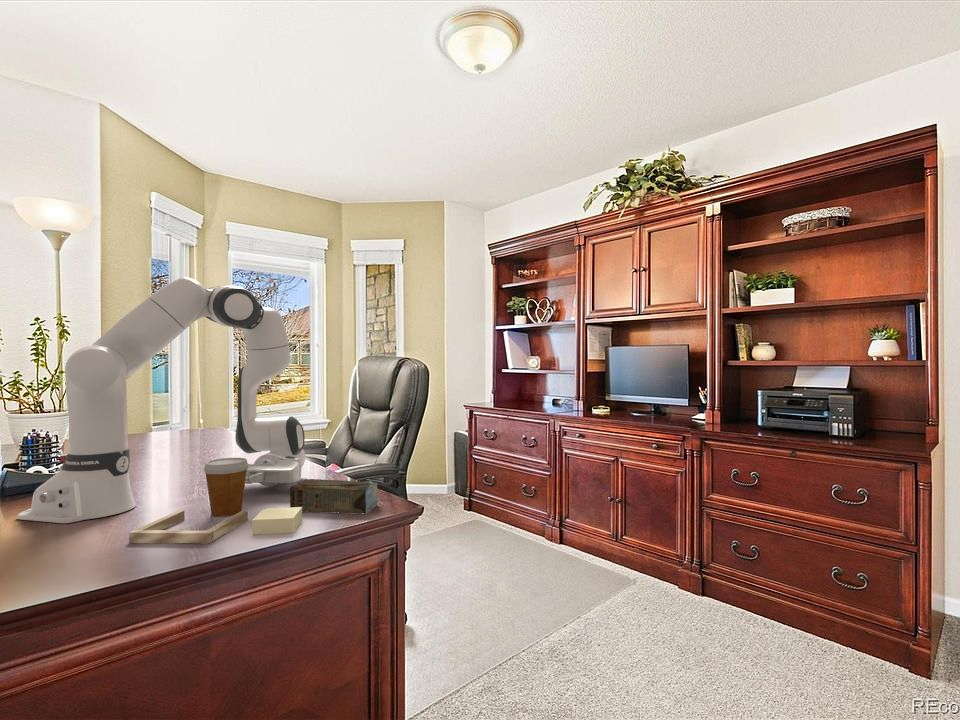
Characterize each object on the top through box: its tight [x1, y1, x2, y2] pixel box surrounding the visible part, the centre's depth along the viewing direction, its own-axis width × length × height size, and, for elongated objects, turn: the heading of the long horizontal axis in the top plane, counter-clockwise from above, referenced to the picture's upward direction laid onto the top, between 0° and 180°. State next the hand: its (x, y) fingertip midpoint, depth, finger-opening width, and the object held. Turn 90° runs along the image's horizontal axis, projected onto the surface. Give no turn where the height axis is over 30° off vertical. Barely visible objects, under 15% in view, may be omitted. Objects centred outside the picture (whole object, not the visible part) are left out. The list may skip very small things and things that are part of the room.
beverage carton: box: [289, 478, 378, 514], centre depth 119 cm, size 8×19×7 cm, turn 82°
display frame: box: [128, 510, 249, 544], centre depth 104 cm, size 16×14×2 cm
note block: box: [251, 506, 303, 536], centre depth 106 cm, size 8×8×3 cm
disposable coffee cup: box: [202, 457, 250, 517], centre depth 116 cm, size 10×10×12 cm
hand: (244, 480), depth 125 cm, fingers closed
